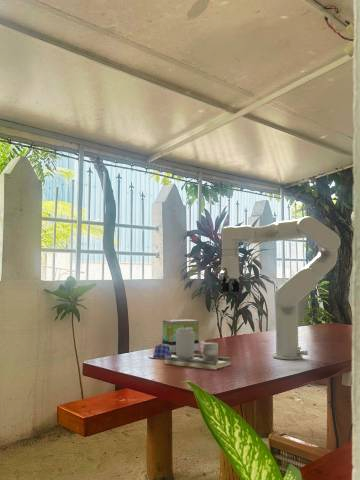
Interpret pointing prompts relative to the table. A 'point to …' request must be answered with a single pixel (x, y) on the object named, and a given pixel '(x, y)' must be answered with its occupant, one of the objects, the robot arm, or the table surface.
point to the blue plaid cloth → (162, 352)
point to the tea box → (172, 327)
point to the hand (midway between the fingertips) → (230, 291)
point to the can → (185, 343)
